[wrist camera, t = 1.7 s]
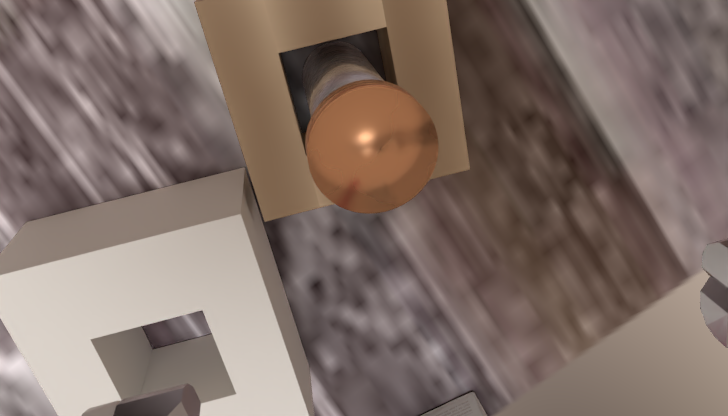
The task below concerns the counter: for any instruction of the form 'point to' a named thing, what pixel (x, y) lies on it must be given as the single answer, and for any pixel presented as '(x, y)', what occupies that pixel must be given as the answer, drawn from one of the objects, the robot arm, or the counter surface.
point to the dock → (156, 302)
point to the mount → (272, 92)
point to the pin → (364, 133)
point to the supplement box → (460, 407)
